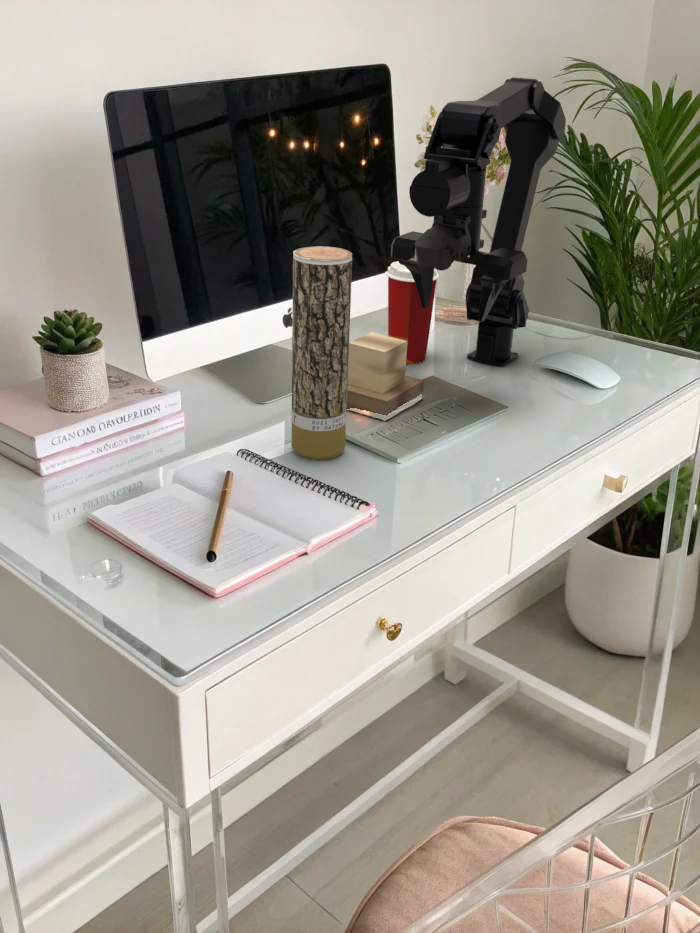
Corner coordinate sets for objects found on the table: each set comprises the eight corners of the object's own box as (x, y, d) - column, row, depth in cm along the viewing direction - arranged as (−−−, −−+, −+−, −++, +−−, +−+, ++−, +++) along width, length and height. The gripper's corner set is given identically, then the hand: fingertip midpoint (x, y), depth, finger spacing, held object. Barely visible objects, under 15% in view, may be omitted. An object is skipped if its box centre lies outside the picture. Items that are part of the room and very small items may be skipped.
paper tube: (352, 444, 118) (360, 250, 107) (334, 466, 112) (340, 263, 101) (303, 435, 120) (306, 243, 109) (282, 456, 114) (283, 256, 103)
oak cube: (369, 371, 134) (371, 332, 131) (404, 381, 131) (407, 341, 128) (346, 383, 129) (347, 342, 126) (382, 393, 126) (384, 352, 124)
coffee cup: (432, 351, 152) (440, 260, 145) (431, 368, 145) (439, 274, 138) (382, 347, 152) (387, 257, 146) (378, 364, 145) (383, 270, 138)
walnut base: (364, 383, 137) (365, 364, 136) (422, 399, 133) (423, 380, 131) (325, 403, 130) (326, 384, 129) (385, 421, 125) (387, 401, 124)
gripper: (371, 203, 123) (367, 315, 130) (496, 224, 113) (484, 344, 121) (414, 190, 131) (409, 296, 138) (535, 209, 122) (522, 322, 129)
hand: (453, 314), depth 131 cm, fingers open, 9 cm apart
